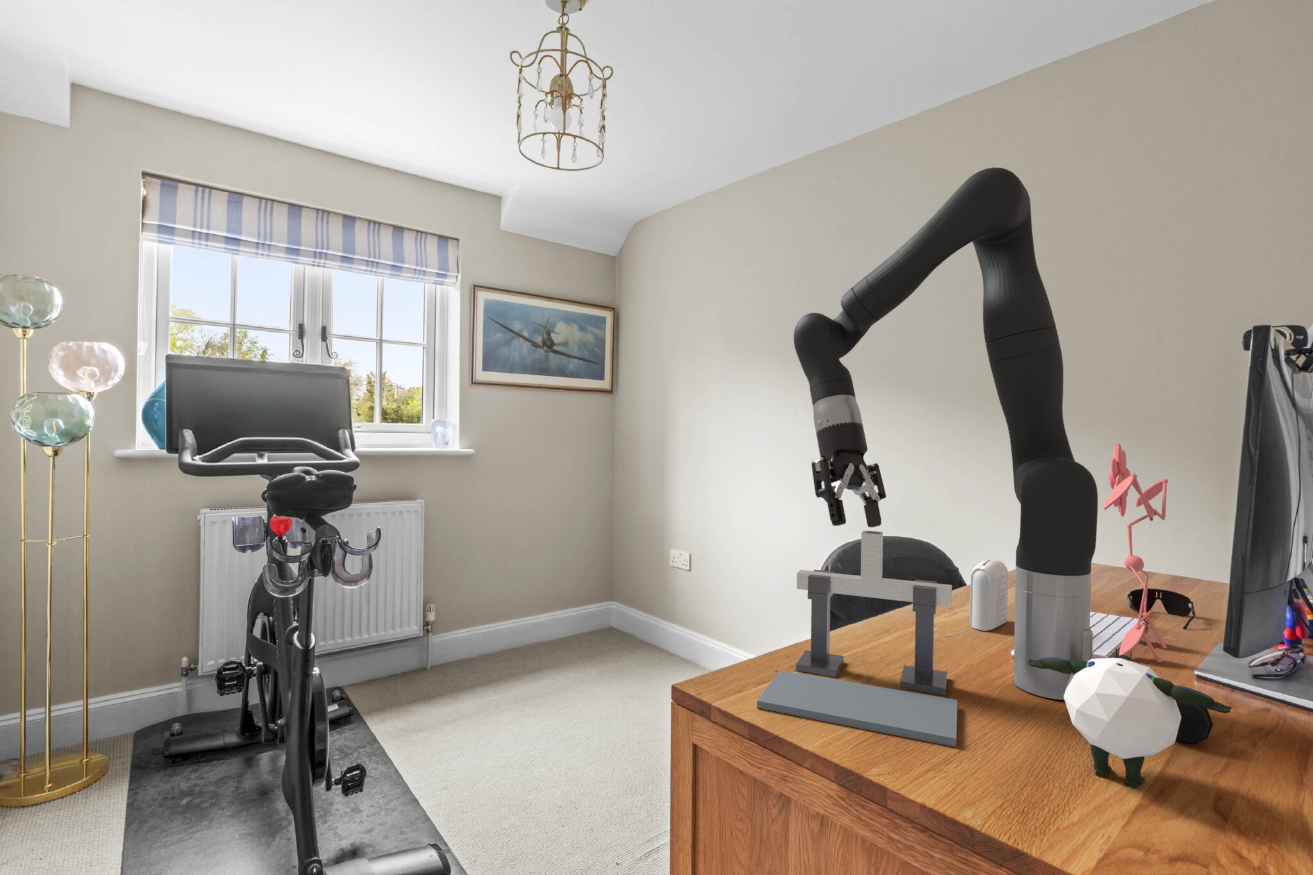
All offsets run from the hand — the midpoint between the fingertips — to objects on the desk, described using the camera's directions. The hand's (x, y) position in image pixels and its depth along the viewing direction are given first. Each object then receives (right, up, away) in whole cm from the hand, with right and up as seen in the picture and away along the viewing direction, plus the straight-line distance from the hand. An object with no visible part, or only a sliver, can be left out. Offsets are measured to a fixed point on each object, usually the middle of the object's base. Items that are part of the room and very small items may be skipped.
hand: (857, 525), depth 103 cm
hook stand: (+1, -22, -4) cm, 22 cm away
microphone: (+36, -23, -18) cm, 46 cm away
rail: (+1, -10, -4) cm, 11 cm away
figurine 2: (+18, -23, -32) cm, 43 cm away
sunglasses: (+68, -22, +26) cm, 76 cm away
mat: (-5, -22, -15) cm, 27 cm away
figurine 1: (+47, -22, +10) cm, 53 cm away
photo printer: (+31, -22, +22) cm, 44 cm away
